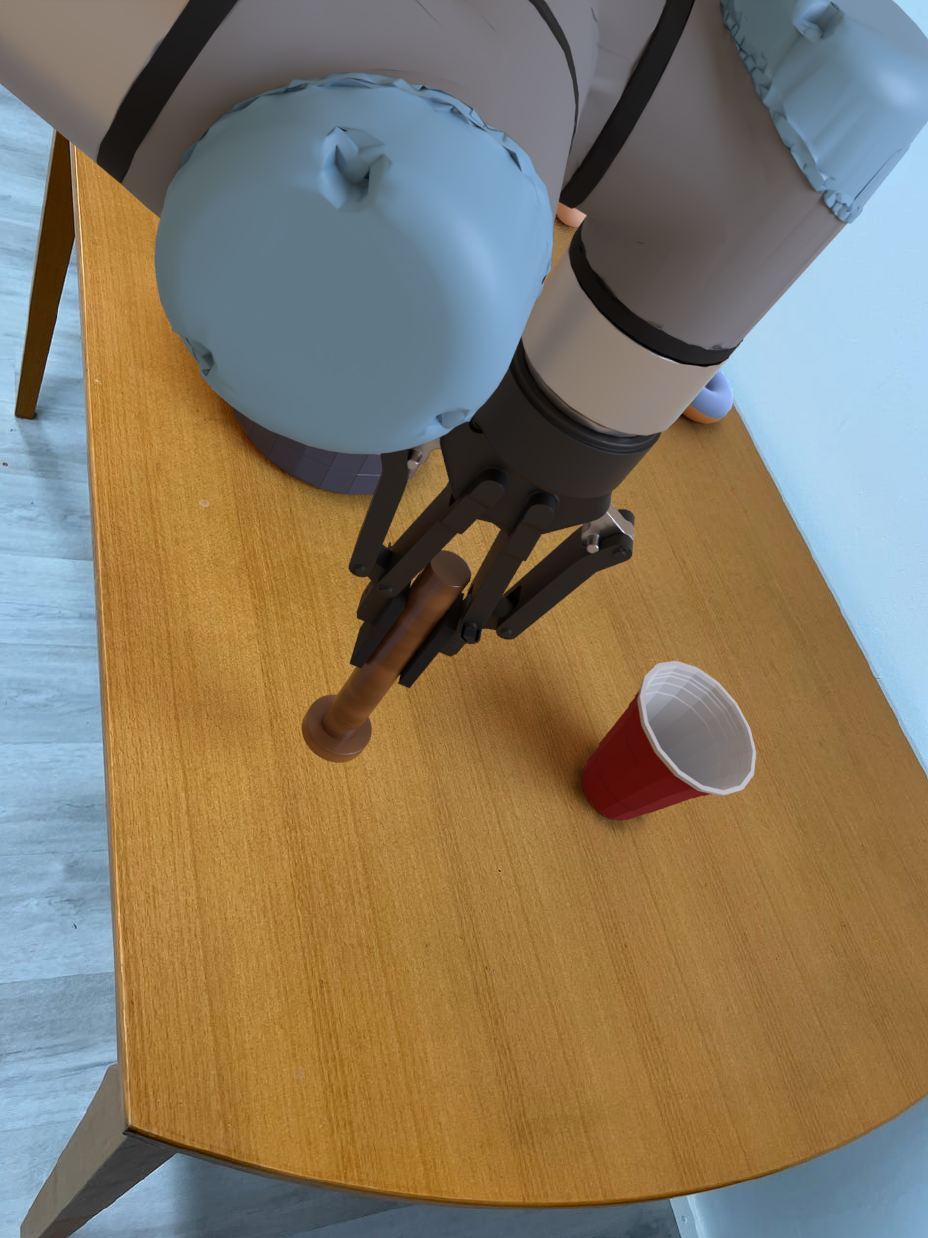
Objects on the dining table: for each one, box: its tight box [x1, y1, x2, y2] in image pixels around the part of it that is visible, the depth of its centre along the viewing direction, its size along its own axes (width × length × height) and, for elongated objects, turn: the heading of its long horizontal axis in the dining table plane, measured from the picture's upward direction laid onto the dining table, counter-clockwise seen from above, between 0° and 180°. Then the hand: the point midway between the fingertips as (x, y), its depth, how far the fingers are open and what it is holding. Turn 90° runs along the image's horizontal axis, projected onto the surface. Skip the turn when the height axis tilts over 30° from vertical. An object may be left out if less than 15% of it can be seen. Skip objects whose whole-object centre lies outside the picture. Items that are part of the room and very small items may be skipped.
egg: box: [556, 202, 586, 228], centre depth 124 cm, size 7×7×8 cm
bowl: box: [232, 407, 432, 496], centre depth 86 cm, size 19×19×6 cm
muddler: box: [301, 549, 472, 764], centre depth 57 cm, size 4×4×18 cm
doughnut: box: [681, 368, 734, 425], centre depth 115 cm, size 10×10×5 cm
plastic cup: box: [581, 660, 757, 822], centre depth 75 cm, size 11×11×12 cm
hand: (384, 657), depth 57 cm, fingers closed on muddler, 2 cm apart
